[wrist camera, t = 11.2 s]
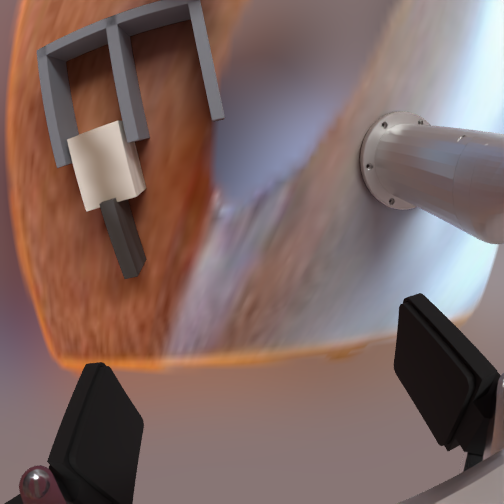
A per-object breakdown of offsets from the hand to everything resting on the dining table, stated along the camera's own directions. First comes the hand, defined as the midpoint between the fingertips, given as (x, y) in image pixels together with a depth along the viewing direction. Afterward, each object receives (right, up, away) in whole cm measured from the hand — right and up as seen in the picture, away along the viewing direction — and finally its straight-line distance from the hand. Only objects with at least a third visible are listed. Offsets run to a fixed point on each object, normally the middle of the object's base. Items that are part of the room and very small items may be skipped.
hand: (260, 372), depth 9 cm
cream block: (-15, +10, +25) cm, 31 cm away
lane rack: (-13, +22, +20) cm, 33 cm away
